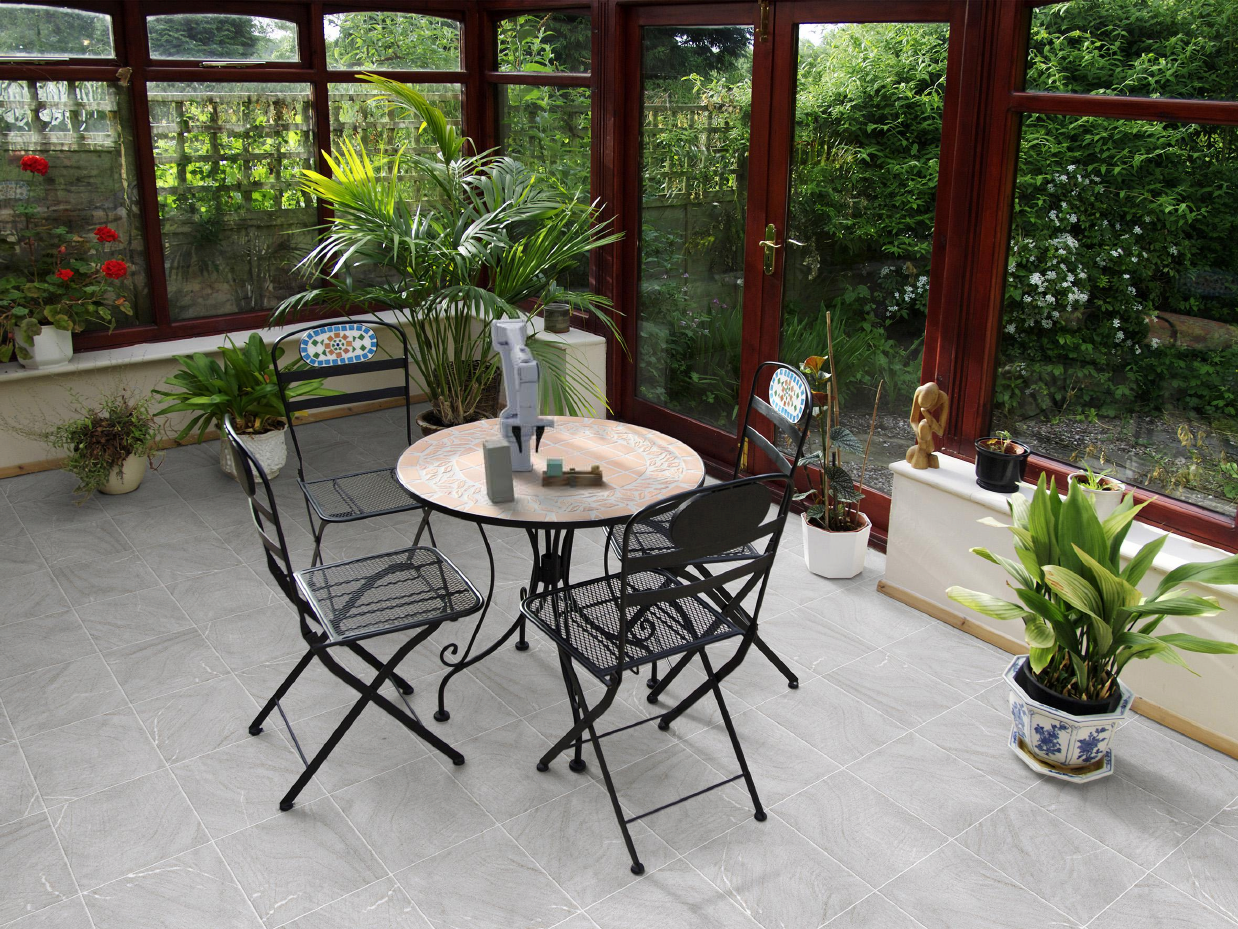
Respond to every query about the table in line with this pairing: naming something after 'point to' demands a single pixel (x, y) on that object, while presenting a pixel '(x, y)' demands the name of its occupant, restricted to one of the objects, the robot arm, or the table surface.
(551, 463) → the block
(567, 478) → the wooden slide track
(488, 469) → the skincare box
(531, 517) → the table surface
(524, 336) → the robot arm
